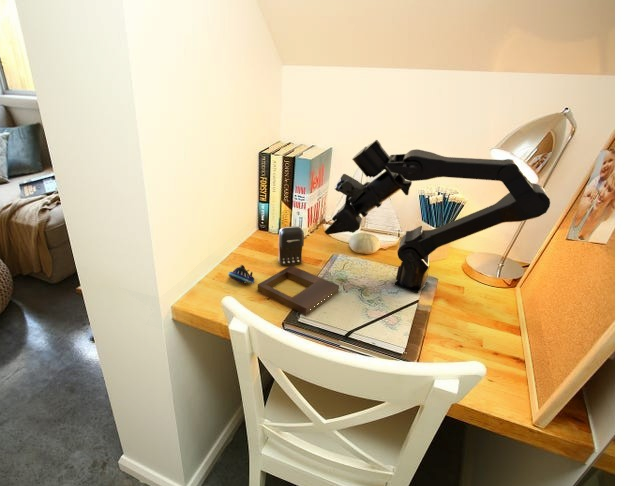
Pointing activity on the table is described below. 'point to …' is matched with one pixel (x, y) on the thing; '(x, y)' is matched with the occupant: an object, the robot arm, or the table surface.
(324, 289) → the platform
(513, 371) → the table surface
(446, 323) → the table surface
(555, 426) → the table surface
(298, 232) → the battery charger
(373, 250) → the sea urchin shell
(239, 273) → the spaceship
